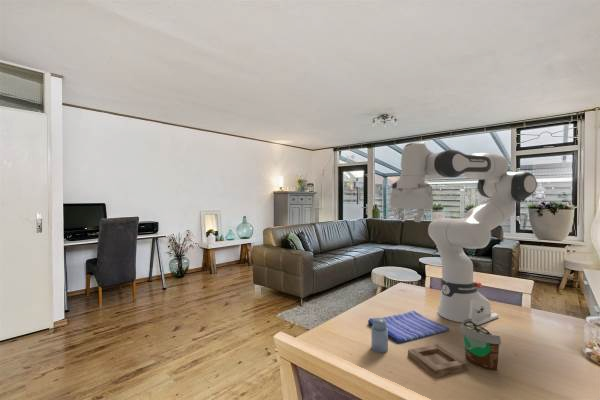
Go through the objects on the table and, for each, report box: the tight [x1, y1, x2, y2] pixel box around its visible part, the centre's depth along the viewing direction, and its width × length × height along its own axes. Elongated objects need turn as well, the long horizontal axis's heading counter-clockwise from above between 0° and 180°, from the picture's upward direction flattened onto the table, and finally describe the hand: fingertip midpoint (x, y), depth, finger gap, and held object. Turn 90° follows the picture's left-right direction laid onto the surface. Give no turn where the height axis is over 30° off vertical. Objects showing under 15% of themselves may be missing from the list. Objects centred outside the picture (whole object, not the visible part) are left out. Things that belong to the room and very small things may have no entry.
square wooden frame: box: [407, 343, 469, 378], centre depth 83 cm, size 11×11×2 cm
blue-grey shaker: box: [370, 317, 389, 354], centre depth 91 cm, size 5×5×9 cm
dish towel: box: [367, 310, 450, 344], centre depth 106 cm, size 17×24×3 cm
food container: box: [460, 319, 502, 371], centre depth 84 cm, size 12×6×10 cm, turn 5°
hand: (408, 221), depth 109 cm, fingers open, 8 cm apart
